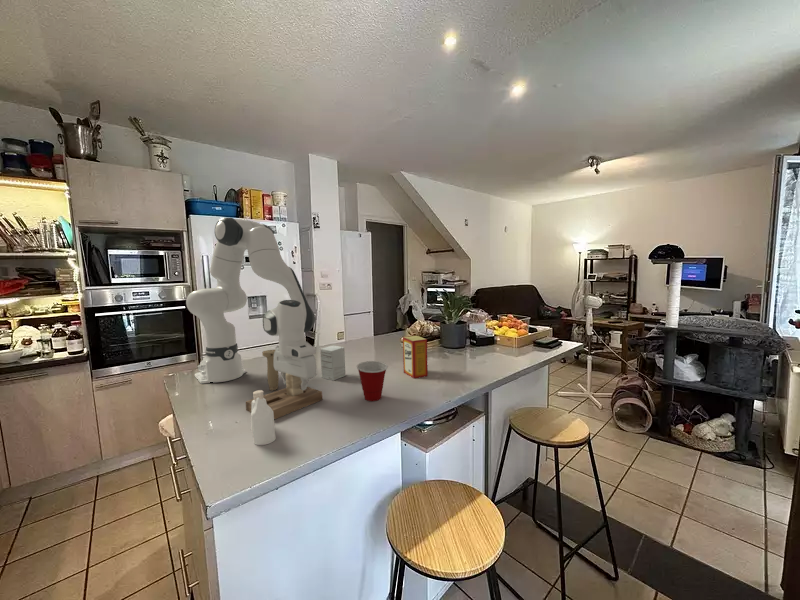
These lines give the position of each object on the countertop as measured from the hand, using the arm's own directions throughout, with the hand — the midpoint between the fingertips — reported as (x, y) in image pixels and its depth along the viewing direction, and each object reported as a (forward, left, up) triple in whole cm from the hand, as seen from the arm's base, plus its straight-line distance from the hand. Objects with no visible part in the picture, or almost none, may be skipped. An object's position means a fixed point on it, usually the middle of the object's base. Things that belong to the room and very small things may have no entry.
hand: (294, 386), depth 114 cm
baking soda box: (+18, +47, -5) cm, 51 cm away
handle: (-17, +2, -5) cm, 18 cm away
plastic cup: (+21, +17, -5) cm, 28 cm away
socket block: (0, -4, -5) cm, 6 cm away
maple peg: (0, 0, -5) cm, 5 cm away
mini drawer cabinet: (-9, +25, -5) cm, 27 cm away
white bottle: (+9, -18, -5) cm, 21 cm away
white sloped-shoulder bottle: (+16, -21, -5) cm, 27 cm away
